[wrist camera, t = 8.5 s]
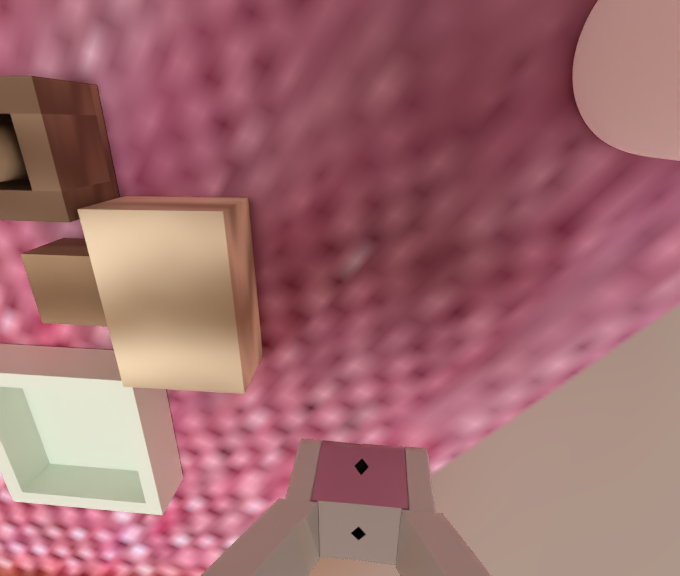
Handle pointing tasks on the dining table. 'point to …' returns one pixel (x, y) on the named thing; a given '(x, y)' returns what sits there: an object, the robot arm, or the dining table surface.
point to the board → (177, 290)
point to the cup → (631, 76)
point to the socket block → (55, 149)
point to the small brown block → (64, 283)
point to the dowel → (10, 154)
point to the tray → (83, 432)
